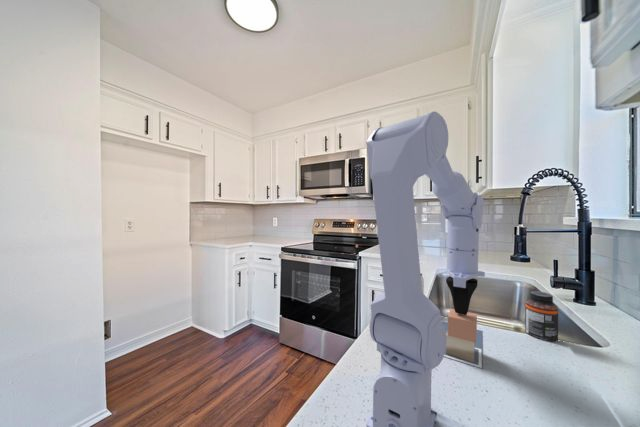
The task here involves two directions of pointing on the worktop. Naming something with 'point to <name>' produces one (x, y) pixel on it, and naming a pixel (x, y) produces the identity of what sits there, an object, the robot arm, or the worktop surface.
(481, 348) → the board
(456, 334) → the terracotta block
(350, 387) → the worktop surface
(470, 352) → the cream block
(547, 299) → the supplement bottle
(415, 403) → the robot arm
